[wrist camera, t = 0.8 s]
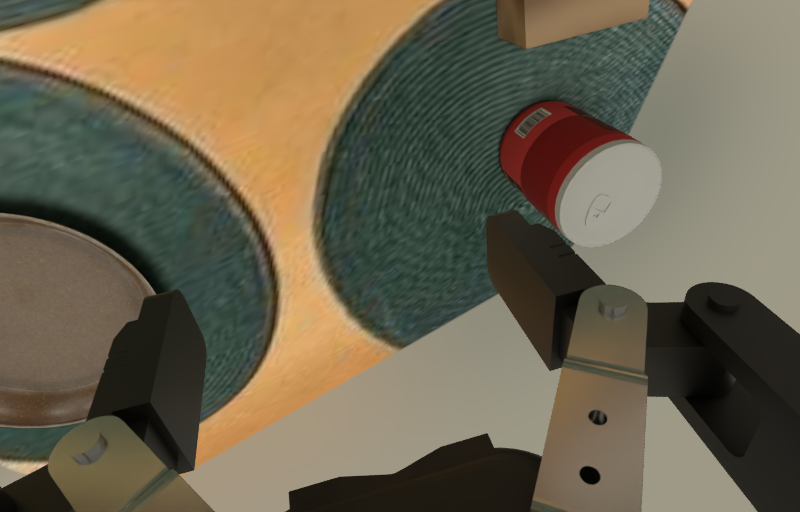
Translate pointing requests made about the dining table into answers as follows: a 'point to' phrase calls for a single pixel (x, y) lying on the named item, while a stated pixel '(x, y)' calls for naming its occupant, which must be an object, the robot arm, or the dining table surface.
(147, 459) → the robot arm
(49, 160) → the dining table surface
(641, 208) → the canned food
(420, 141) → the dining table surface
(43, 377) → the plant saucer
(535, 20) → the base block
